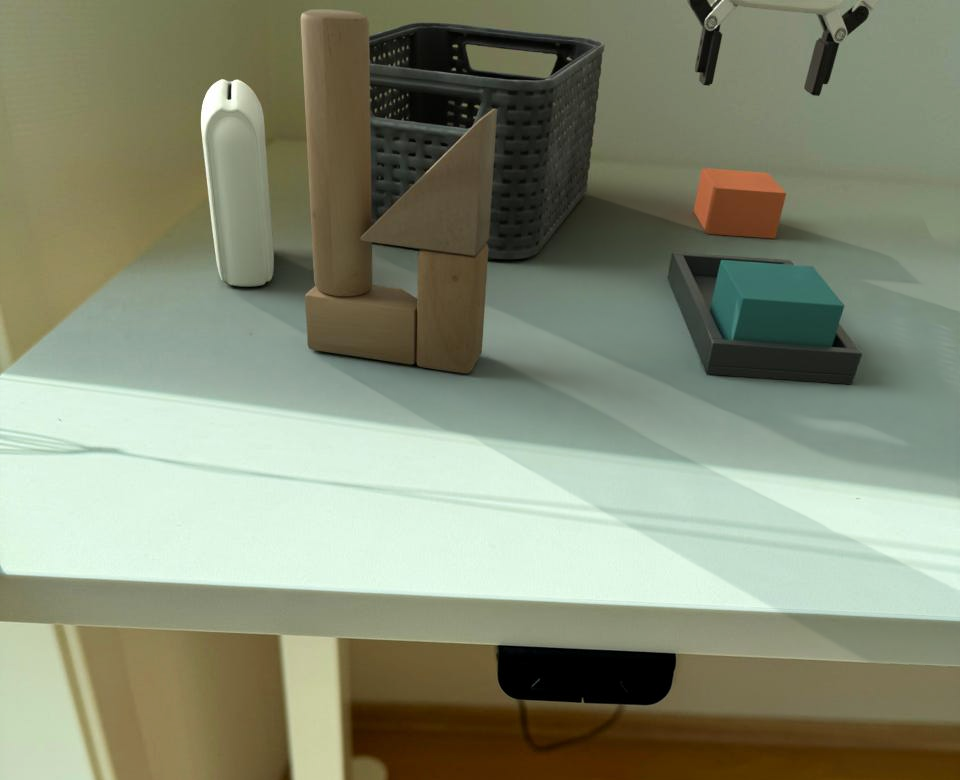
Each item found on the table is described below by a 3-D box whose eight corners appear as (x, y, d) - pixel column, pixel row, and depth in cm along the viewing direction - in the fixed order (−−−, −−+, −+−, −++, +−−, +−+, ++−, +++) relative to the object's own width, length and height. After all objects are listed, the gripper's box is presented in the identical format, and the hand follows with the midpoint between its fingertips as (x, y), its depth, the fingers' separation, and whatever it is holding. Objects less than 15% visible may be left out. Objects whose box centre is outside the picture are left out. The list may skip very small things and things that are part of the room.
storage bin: (529, 268, 75) (546, 77, 66) (309, 235, 78) (299, 49, 70) (592, 190, 96) (611, 39, 88) (417, 167, 100) (419, 19, 91)
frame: (667, 278, 75) (672, 251, 74) (783, 286, 75) (790, 259, 74) (706, 374, 60) (713, 342, 58) (852, 384, 60) (862, 353, 59)
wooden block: (470, 376, 57) (489, 32, 46) (306, 352, 59) (285, 11, 47) (482, 355, 60) (504, 25, 49) (326, 332, 61) (311, 6, 50)
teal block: (797, 322, 67) (813, 266, 64) (826, 366, 60) (845, 305, 58) (708, 316, 67) (720, 259, 64) (728, 359, 60) (742, 297, 58)
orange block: (757, 216, 92) (767, 172, 90) (775, 239, 86) (786, 192, 84) (693, 211, 92) (701, 167, 90) (706, 234, 86) (715, 187, 84)
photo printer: (219, 246, 74) (200, 68, 66) (274, 247, 75) (260, 70, 67) (215, 289, 66) (192, 92, 59) (276, 289, 67) (261, 95, 59)
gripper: (910, -153, 74) (842, 90, 85) (699, -174, 74) (657, 73, 85) (944, -157, 69) (865, 104, 79) (715, -180, 68) (667, 86, 79)
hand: (758, 88), depth 82 cm, fingers open, 9 cm apart
